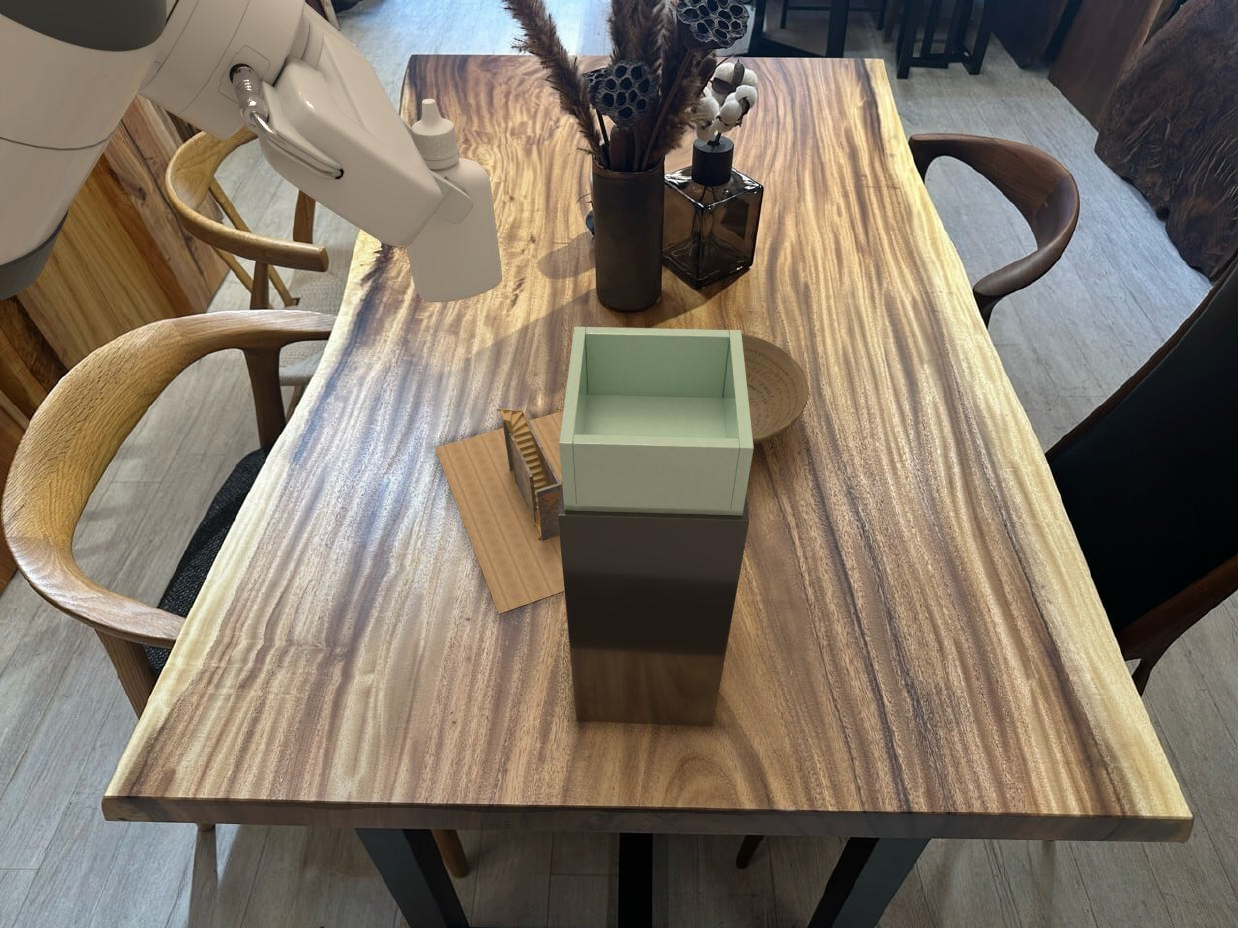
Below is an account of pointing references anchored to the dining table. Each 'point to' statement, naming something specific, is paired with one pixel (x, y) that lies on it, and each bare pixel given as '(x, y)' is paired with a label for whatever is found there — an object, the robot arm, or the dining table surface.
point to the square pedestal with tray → (652, 518)
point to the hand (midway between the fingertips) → (453, 191)
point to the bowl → (772, 388)
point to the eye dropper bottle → (447, 252)
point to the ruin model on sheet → (532, 470)
